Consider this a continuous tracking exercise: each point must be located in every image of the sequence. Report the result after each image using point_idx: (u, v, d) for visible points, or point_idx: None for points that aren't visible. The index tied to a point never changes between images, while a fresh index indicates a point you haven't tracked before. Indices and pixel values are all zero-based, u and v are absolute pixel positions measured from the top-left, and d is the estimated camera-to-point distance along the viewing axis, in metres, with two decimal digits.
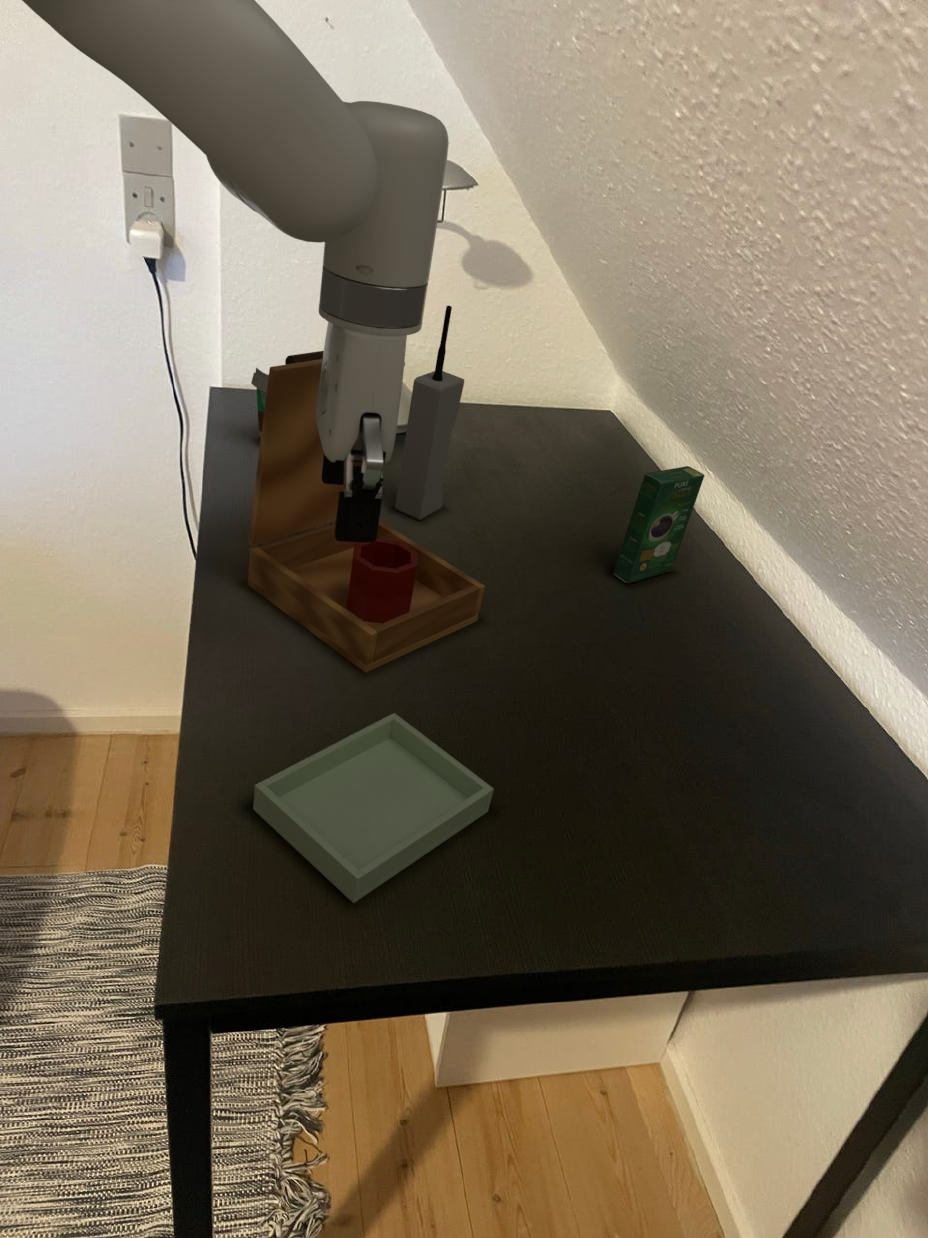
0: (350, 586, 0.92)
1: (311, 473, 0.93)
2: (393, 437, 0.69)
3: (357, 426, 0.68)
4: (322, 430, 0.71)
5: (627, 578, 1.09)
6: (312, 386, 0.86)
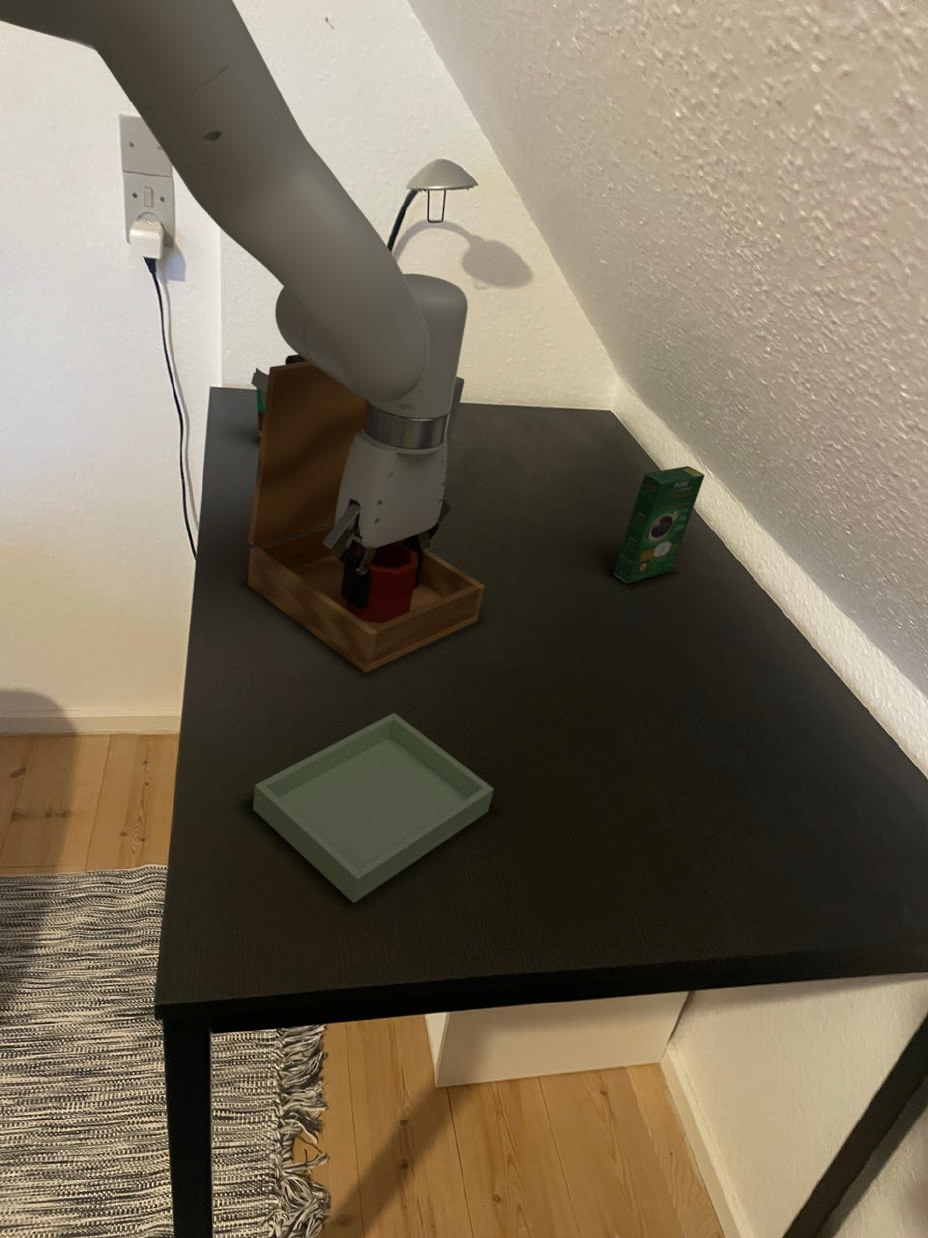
0: None
1: (311, 473, 0.93)
2: (368, 527, 0.84)
3: (346, 507, 0.85)
4: None
5: (627, 578, 1.09)
6: (312, 386, 0.86)
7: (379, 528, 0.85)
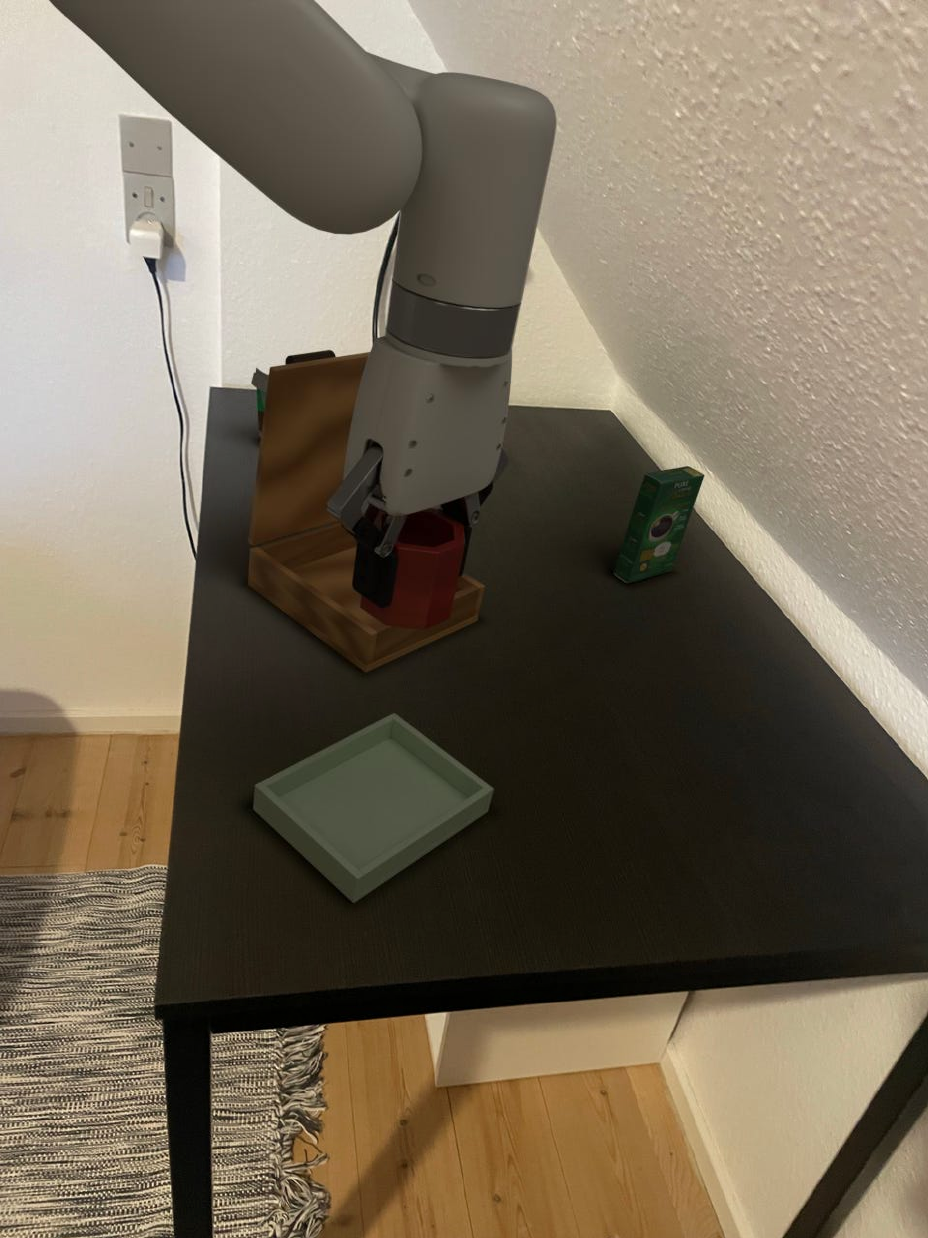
0: None
1: (311, 473, 0.93)
2: (396, 483, 0.55)
3: (361, 453, 0.56)
4: None
5: (627, 578, 1.09)
6: (312, 386, 0.86)
7: (411, 484, 0.56)
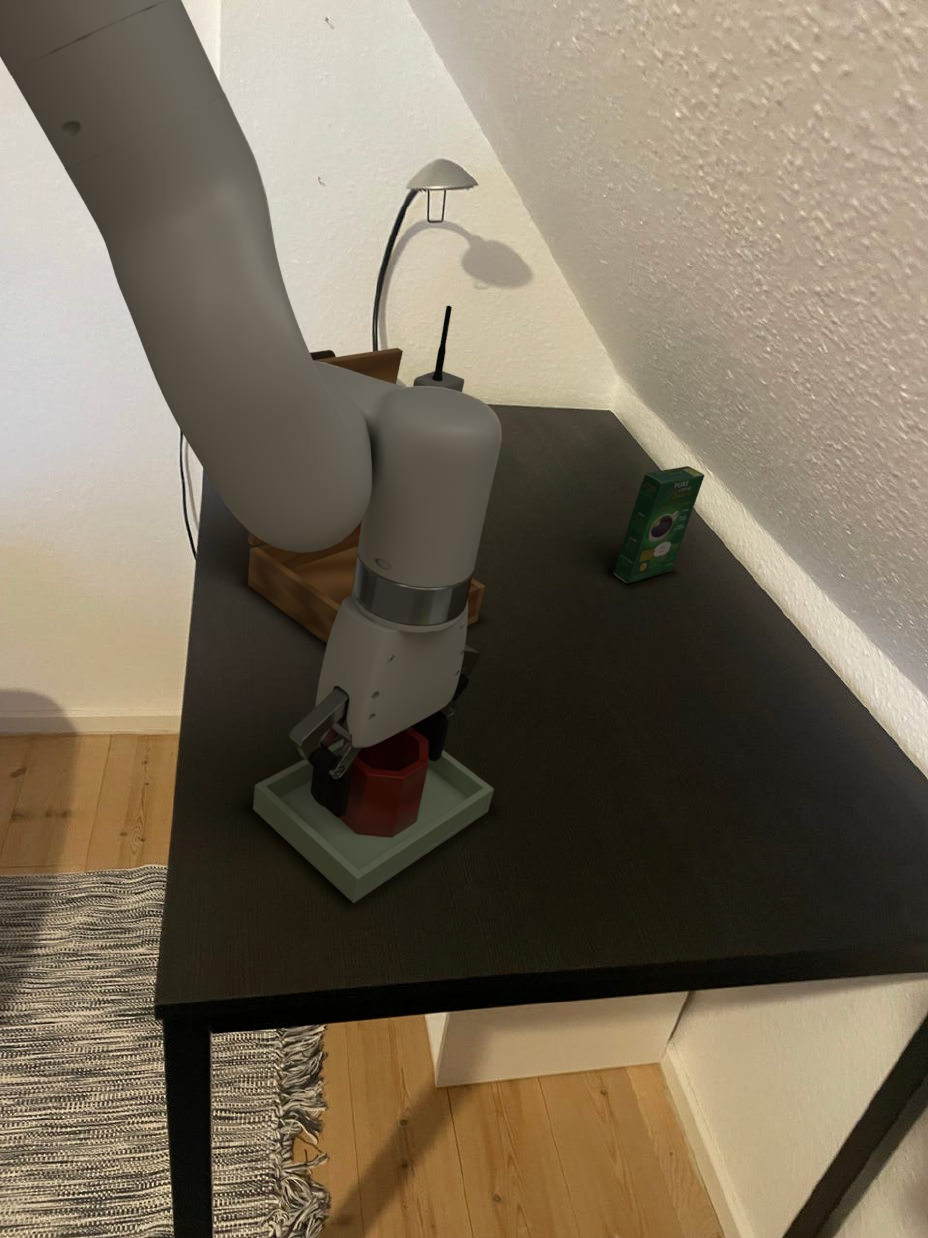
0: None
1: None
2: (361, 725, 0.61)
3: None
4: None
5: (627, 578, 1.09)
6: None
7: (375, 724, 0.62)
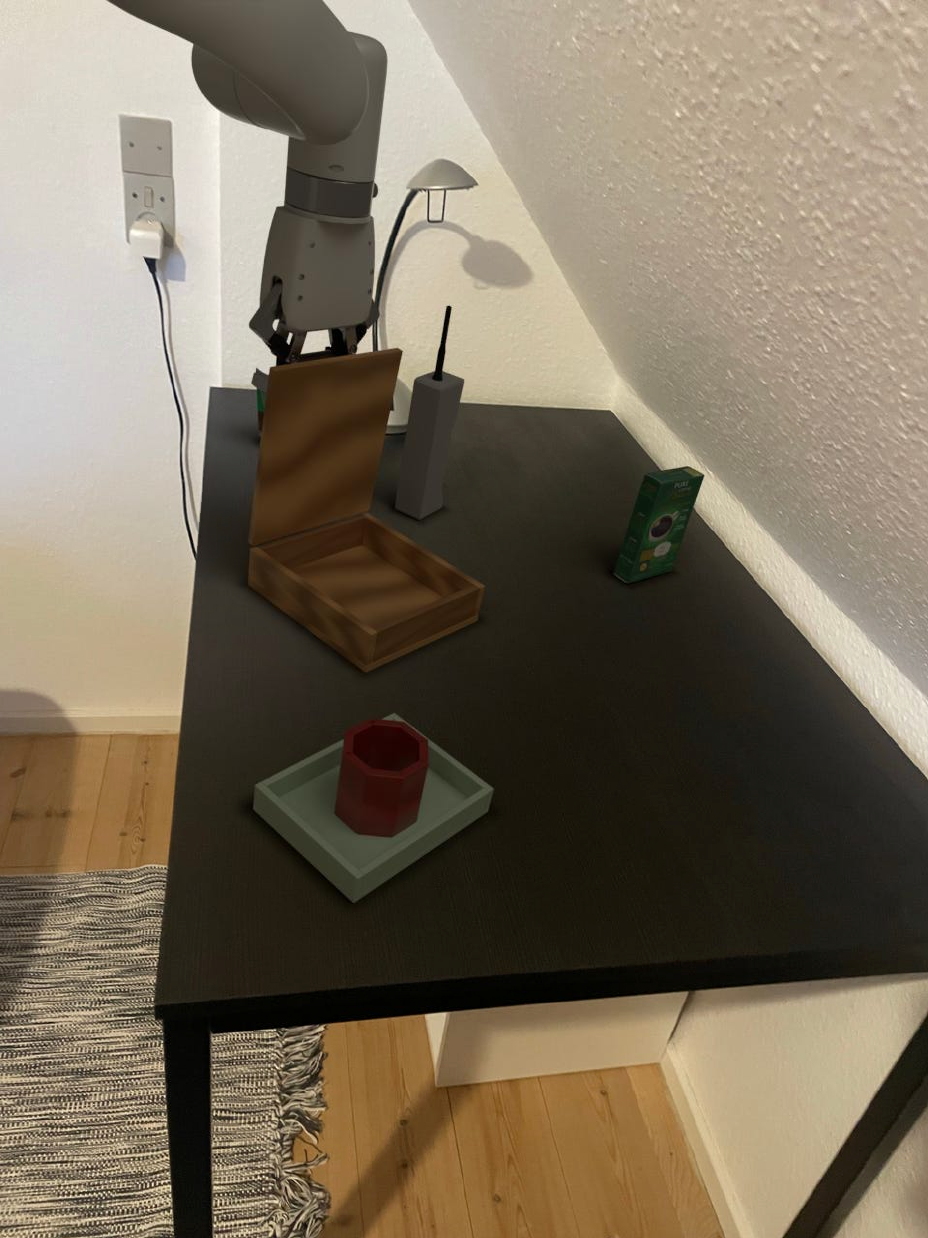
0: (339, 789, 0.69)
1: (311, 473, 0.93)
2: (291, 304, 0.82)
3: (269, 286, 0.83)
4: None
5: (627, 578, 1.09)
6: (312, 386, 0.86)
7: (303, 307, 0.83)
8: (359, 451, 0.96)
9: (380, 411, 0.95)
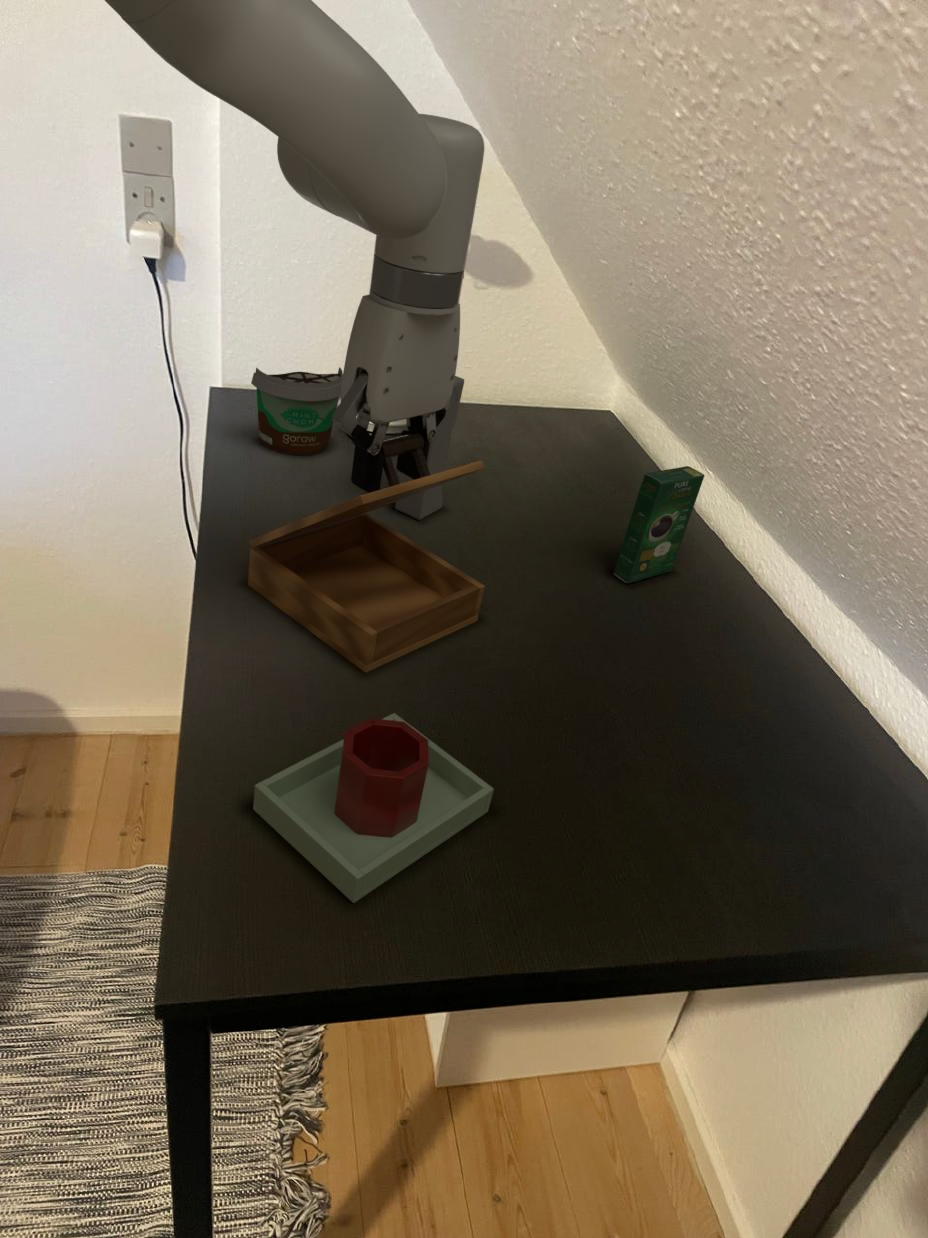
0: (339, 789, 0.69)
1: (339, 518, 0.92)
2: (377, 397, 0.79)
3: (353, 377, 0.79)
4: None
5: (627, 578, 1.09)
6: (387, 498, 0.84)
7: (388, 399, 0.79)
8: (391, 501, 0.95)
9: (431, 487, 0.93)
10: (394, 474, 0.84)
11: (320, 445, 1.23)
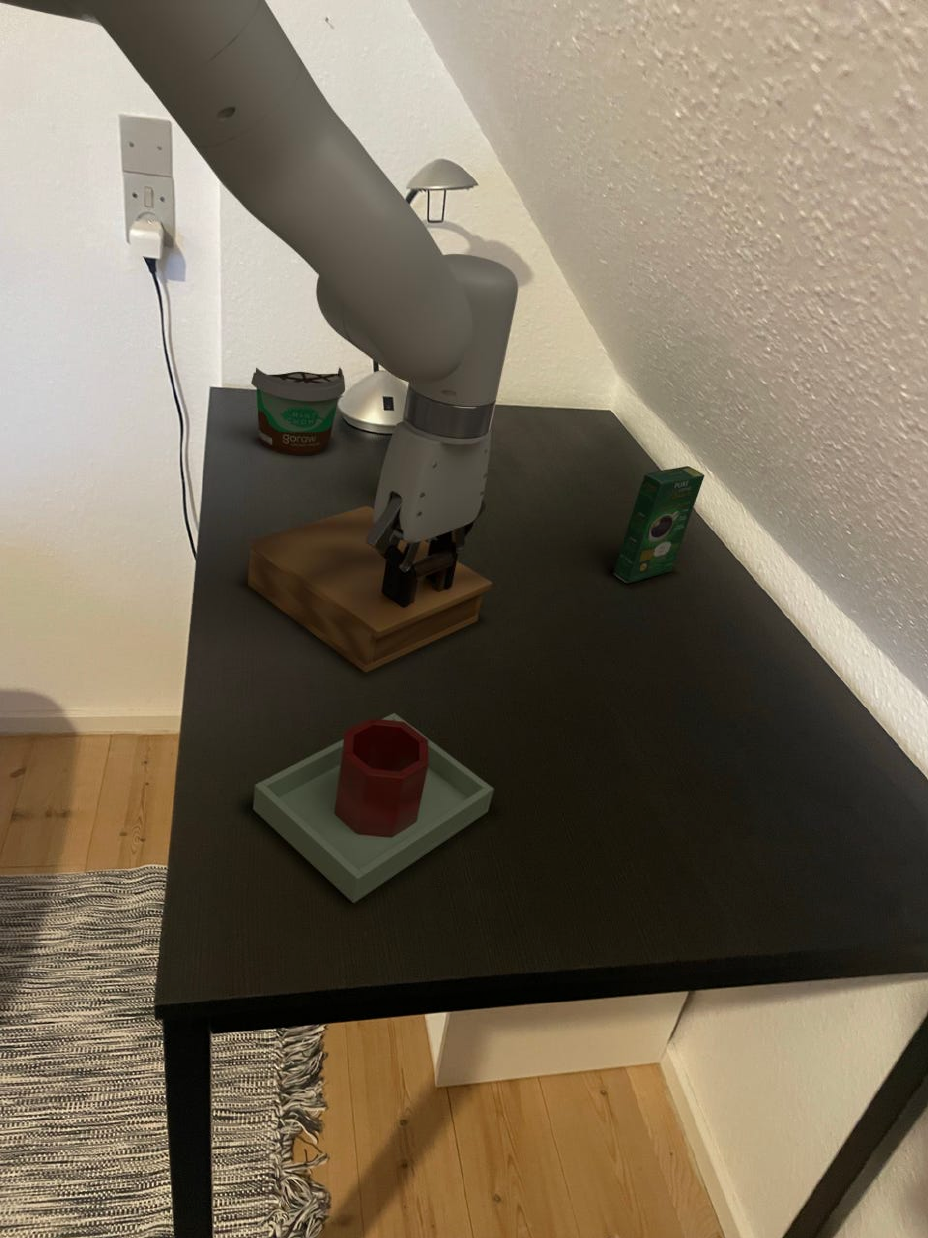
0: (339, 789, 0.69)
1: None
2: (410, 521, 0.81)
3: (386, 500, 0.81)
4: None
5: (627, 578, 1.09)
6: None
7: (421, 522, 0.81)
8: None
9: None
10: (413, 594, 0.87)
11: (320, 445, 1.23)
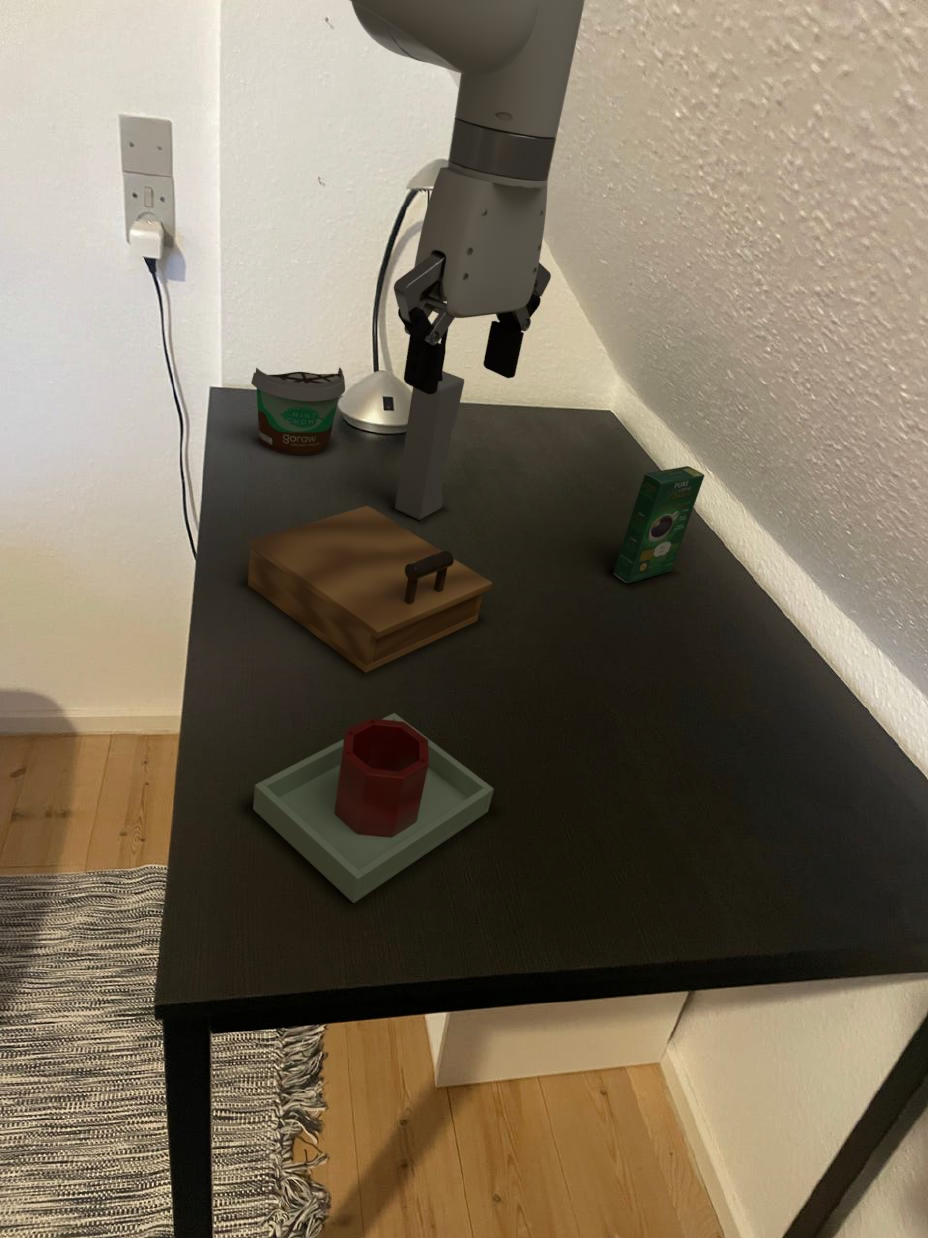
0: (339, 789, 0.69)
1: None
2: (455, 284, 0.69)
3: None
4: None
5: (627, 577, 1.09)
6: None
7: (467, 288, 0.70)
8: None
9: None
10: (413, 594, 0.87)
11: (320, 445, 1.23)
